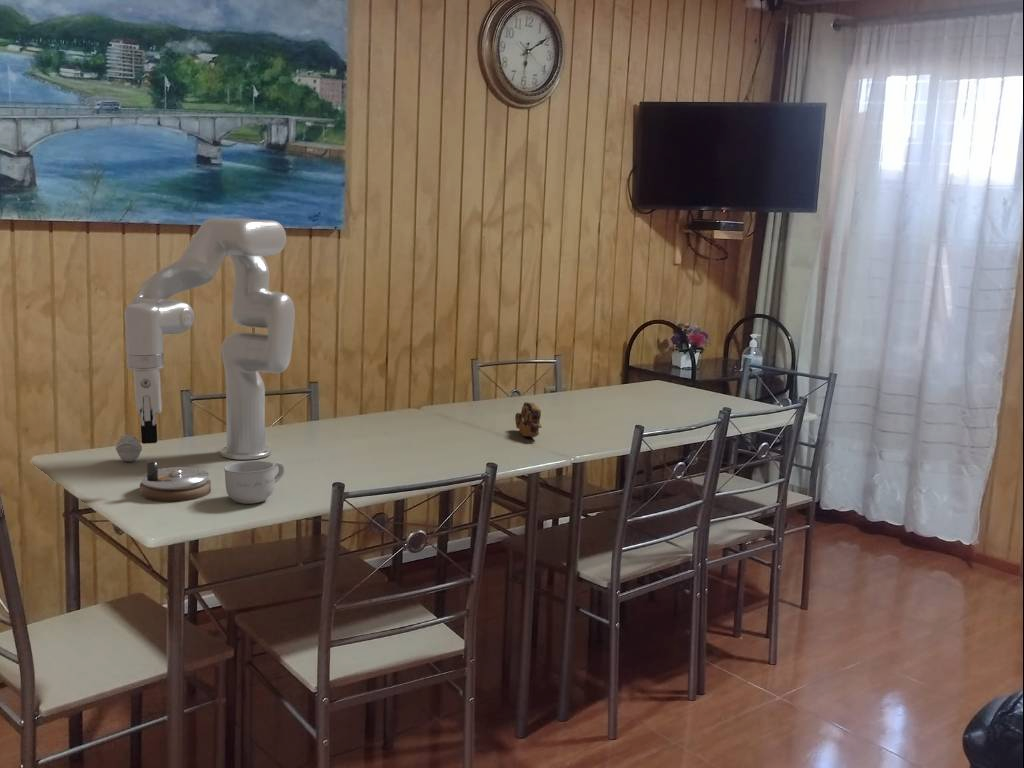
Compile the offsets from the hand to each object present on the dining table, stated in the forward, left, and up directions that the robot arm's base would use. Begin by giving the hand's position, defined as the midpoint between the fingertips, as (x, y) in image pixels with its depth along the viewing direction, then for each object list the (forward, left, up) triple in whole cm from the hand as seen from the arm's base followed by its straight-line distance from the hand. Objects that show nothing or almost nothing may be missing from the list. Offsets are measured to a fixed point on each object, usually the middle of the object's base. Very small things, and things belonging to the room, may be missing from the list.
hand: (149, 442), depth 219 cm
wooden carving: (-39, +102, -12) cm, 110 cm away
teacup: (+9, +22, -12) cm, 27 cm away
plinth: (+1, +5, -11) cm, 13 cm away
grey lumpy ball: (-27, -6, -12) cm, 30 cm away
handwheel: (+1, +5, -9) cm, 11 cm away
